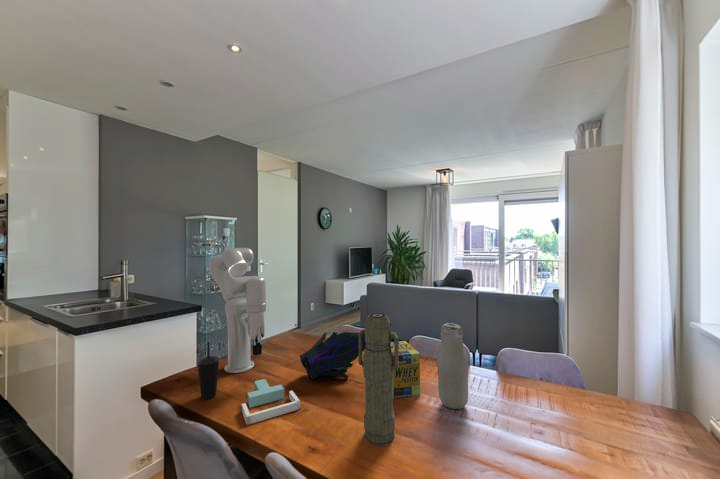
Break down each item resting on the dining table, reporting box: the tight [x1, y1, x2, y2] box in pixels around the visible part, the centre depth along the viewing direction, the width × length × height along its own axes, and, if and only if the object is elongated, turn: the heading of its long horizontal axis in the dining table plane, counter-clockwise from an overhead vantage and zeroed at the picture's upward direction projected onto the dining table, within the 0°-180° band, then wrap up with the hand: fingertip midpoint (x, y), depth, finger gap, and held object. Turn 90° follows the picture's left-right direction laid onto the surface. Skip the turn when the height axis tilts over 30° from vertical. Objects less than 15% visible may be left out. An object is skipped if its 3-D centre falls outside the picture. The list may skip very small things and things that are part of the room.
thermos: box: [358, 312, 400, 447], centre depth 88 cm, size 9×12×35 cm
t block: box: [247, 378, 285, 409], centre depth 113 cm, size 12×12×4 cm
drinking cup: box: [196, 341, 221, 401], centre depth 112 cm, size 8×8×20 cm
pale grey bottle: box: [436, 322, 469, 410], centre depth 103 cm, size 10×10×28 cm
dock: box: [241, 390, 302, 426], centre depth 103 cm, size 9×17×2 cm, turn 120°
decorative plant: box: [299, 331, 366, 380], centre depth 129 cm, size 21×26×30 cm
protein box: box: [391, 340, 421, 400], centre depth 117 cm, size 10×15×16 cm
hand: (257, 354), depth 122 cm, fingers closed
